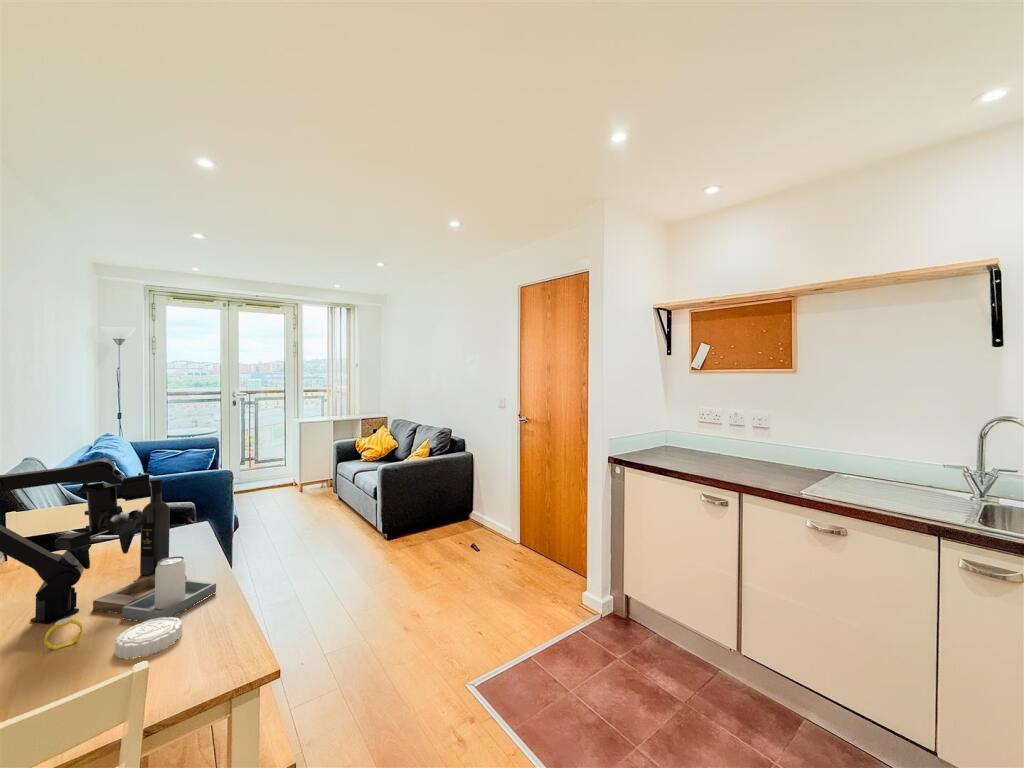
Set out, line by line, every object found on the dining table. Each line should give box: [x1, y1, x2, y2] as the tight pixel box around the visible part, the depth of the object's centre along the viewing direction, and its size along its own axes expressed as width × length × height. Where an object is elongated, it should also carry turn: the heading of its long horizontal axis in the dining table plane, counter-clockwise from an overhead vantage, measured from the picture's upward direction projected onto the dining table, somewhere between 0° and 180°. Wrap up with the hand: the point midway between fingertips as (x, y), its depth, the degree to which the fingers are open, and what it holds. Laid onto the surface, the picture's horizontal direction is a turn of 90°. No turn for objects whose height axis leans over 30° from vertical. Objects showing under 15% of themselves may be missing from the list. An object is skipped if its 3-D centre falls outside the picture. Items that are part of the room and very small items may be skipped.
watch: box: [43, 617, 84, 651], centre depth 96 cm, size 6×3×6 cm, turn 137°
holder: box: [92, 574, 187, 614], centre depth 119 cm, size 17×11×2 cm, turn 170°
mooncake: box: [114, 616, 183, 660], centre depth 98 cm, size 12×12×4 cm
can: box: [155, 555, 187, 610], centre depth 114 cm, size 6×6×12 cm
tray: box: [121, 579, 217, 623], centre depth 114 cm, size 16×12×3 cm
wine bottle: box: [139, 478, 171, 577], centre depth 134 cm, size 6×6×30 cm
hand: (107, 560), depth 114 cm, fingers open, 9 cm apart
